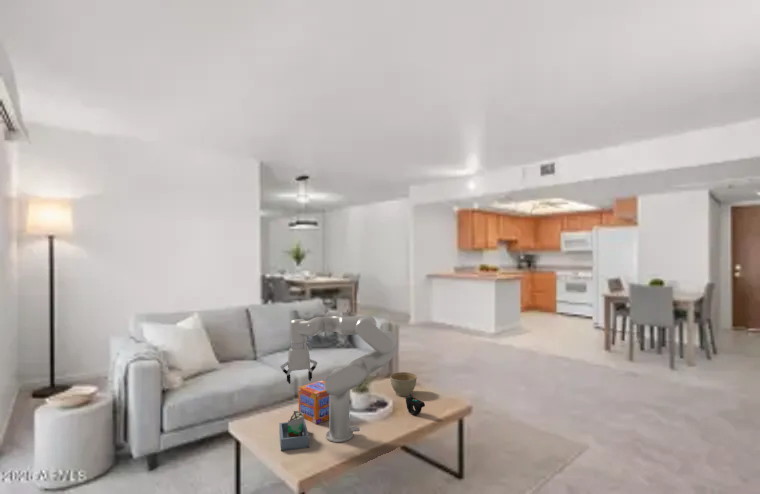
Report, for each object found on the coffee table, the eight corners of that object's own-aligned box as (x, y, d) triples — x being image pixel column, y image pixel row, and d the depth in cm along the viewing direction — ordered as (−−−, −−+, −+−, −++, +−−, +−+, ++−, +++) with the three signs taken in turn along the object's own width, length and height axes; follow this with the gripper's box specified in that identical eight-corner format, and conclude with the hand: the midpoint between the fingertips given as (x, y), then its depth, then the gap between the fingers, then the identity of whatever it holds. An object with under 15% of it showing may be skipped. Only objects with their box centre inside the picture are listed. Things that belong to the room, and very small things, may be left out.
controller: (410, 410, 226) (410, 392, 226) (426, 417, 216) (426, 398, 216) (404, 412, 223) (404, 393, 223) (420, 419, 214) (420, 400, 214)
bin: (304, 430, 201) (304, 420, 201) (308, 447, 184) (308, 436, 184) (279, 433, 198) (279, 423, 198) (280, 451, 181) (280, 439, 181)
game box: (340, 415, 219) (340, 386, 219) (316, 424, 208) (315, 393, 208) (322, 408, 230) (322, 379, 230) (298, 416, 219) (298, 386, 219)
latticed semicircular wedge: (301, 443, 185) (301, 421, 186) (287, 443, 186) (287, 421, 186) (306, 431, 198) (306, 410, 198) (294, 431, 198) (293, 410, 198)
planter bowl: (384, 394, 251) (384, 376, 251) (400, 387, 263) (400, 370, 263) (406, 400, 240) (406, 382, 241) (422, 393, 253) (421, 375, 253)
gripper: (315, 342, 204) (316, 377, 204) (279, 345, 198) (280, 381, 198) (318, 345, 197) (319, 381, 197) (281, 349, 191) (281, 386, 191)
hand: (299, 381), depth 197 cm, fingers open, 9 cm apart
